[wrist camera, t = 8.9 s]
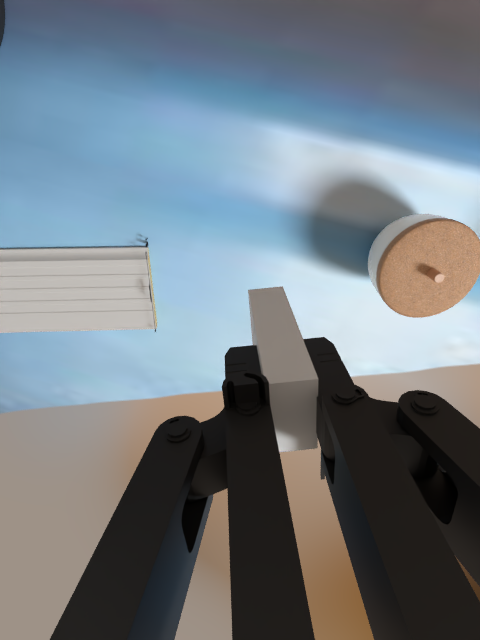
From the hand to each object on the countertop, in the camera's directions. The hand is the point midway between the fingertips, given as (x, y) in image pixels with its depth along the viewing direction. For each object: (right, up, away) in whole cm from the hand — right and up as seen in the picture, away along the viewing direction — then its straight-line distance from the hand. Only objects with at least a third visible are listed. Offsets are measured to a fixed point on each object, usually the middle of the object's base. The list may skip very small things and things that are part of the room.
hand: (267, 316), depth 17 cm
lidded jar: (+18, +8, +29) cm, 35 cm away
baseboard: (-27, +4, +29) cm, 40 cm away
